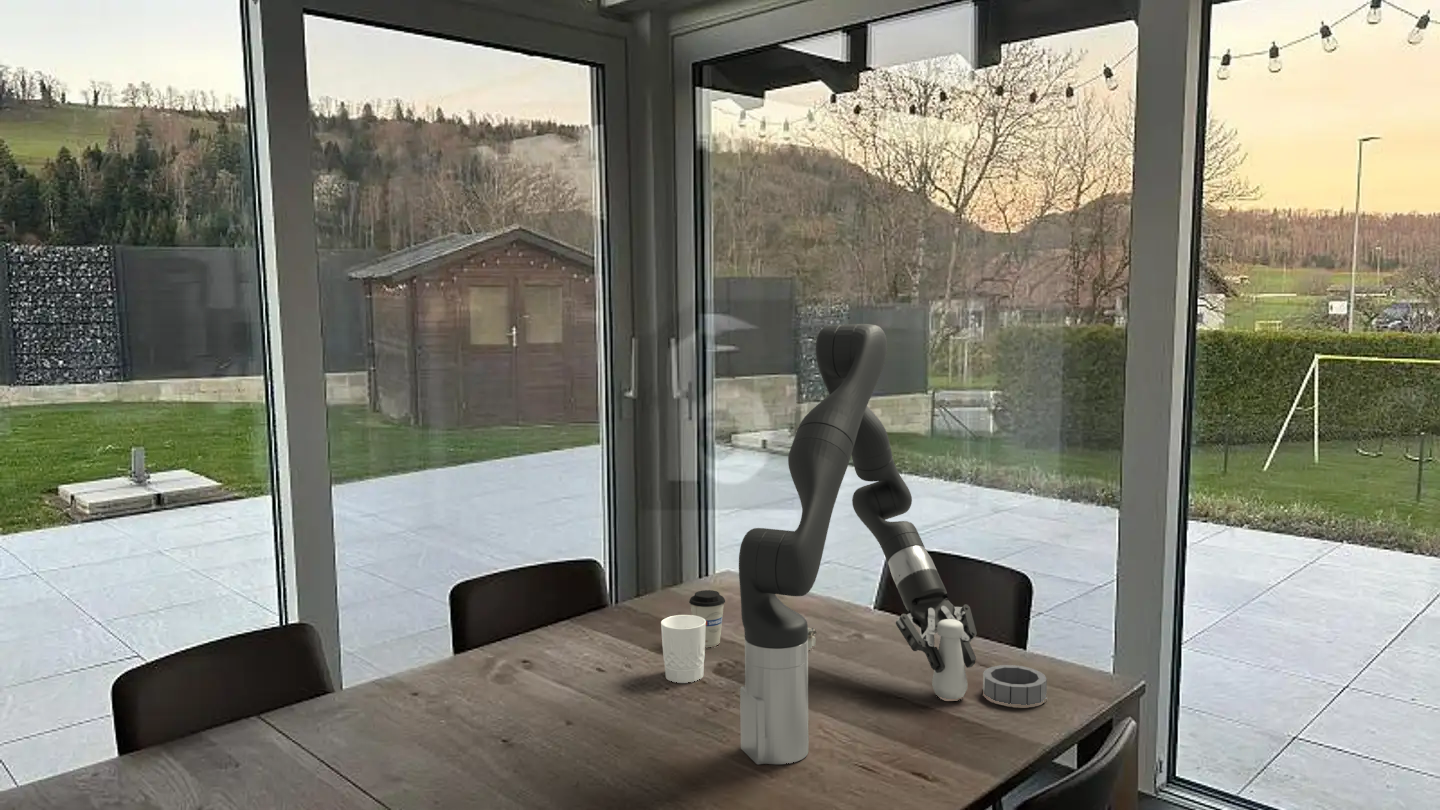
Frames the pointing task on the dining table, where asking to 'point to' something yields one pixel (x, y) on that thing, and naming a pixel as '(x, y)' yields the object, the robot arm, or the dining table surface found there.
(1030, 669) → the bowl
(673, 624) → the white cup
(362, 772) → the dining table surface
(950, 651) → the salt shaker
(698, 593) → the coffee cup
